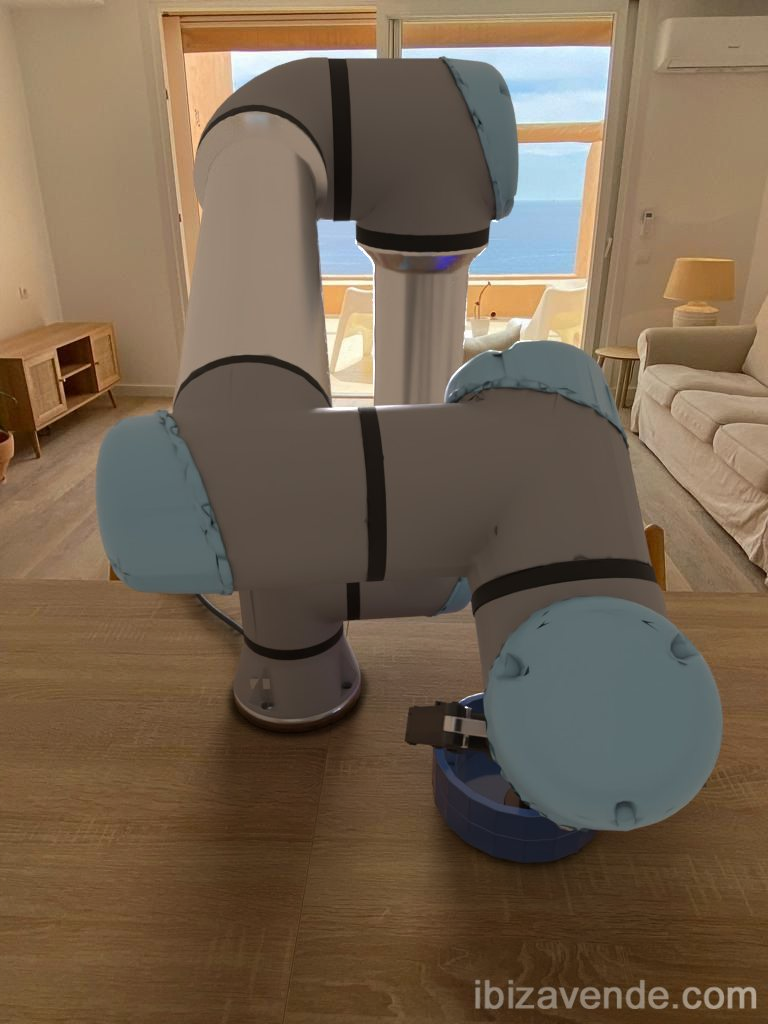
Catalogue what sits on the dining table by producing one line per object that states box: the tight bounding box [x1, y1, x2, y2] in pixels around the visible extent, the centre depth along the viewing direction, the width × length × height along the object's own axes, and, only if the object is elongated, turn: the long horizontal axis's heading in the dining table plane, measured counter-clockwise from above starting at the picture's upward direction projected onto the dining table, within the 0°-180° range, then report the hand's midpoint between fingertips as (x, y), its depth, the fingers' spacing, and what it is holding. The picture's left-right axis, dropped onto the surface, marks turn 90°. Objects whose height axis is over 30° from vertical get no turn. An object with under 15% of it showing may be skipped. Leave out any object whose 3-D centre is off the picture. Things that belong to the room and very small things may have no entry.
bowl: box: [431, 692, 598, 864], centre depth 68 cm, size 17×17×6 cm
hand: (544, 749), depth 55 cm, fingers open, 13 cm apart
